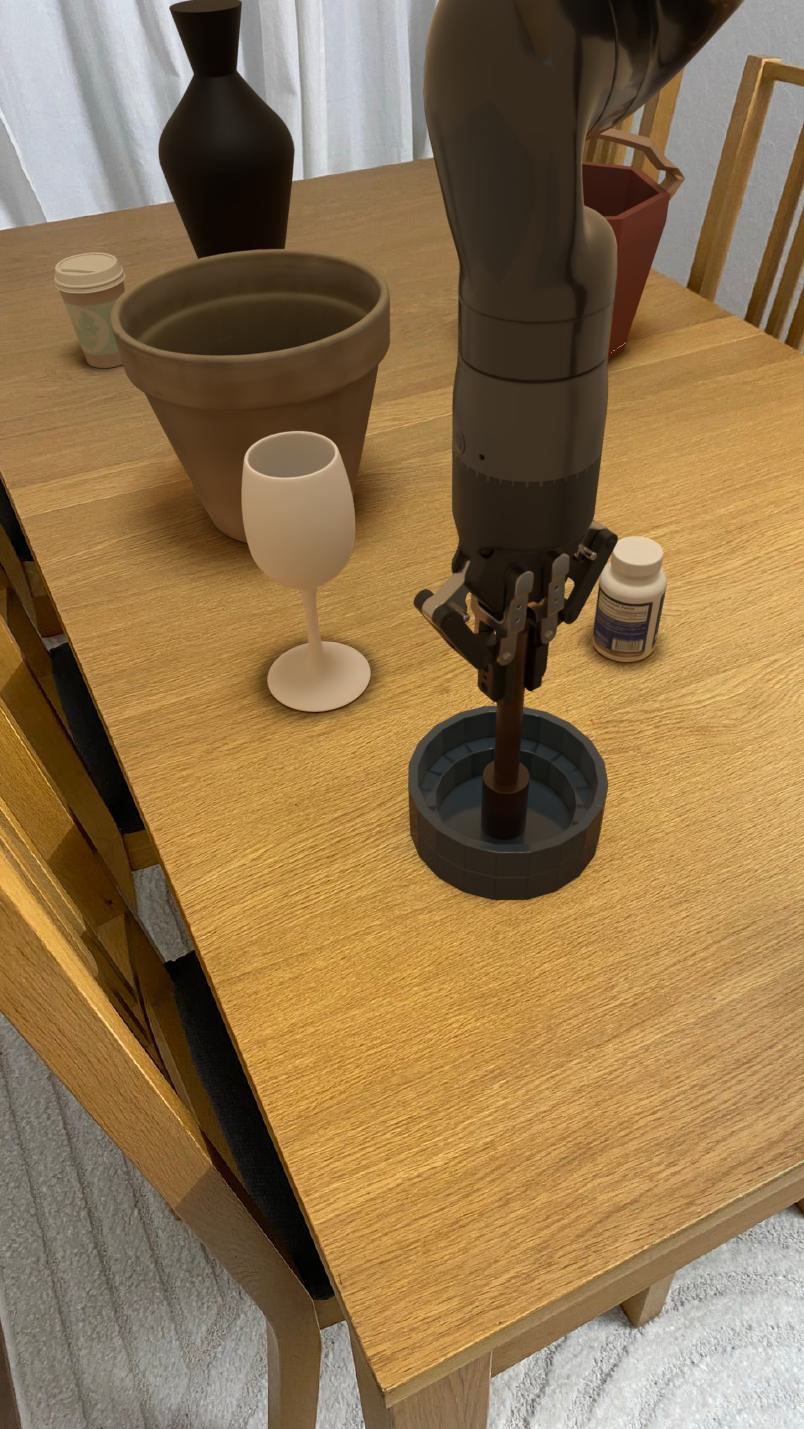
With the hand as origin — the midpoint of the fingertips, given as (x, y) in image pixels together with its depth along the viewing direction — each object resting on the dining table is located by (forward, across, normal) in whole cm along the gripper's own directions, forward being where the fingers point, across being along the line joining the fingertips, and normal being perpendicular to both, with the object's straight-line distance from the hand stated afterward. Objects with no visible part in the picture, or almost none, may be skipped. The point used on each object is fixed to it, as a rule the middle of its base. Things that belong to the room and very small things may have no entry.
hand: (511, 689), depth 62 cm
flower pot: (+14, +9, +47) cm, 50 cm away
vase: (+14, +31, +94) cm, 100 cm away
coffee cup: (+14, +9, +91) cm, 93 cm away
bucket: (+14, +55, +57) cm, 81 cm away
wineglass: (+14, -2, +22) cm, 26 cm away
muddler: (+13, 0, 0) cm, 13 cm away
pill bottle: (+14, +21, +10) cm, 27 cm away
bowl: (+14, 0, 0) cm, 14 cm away
